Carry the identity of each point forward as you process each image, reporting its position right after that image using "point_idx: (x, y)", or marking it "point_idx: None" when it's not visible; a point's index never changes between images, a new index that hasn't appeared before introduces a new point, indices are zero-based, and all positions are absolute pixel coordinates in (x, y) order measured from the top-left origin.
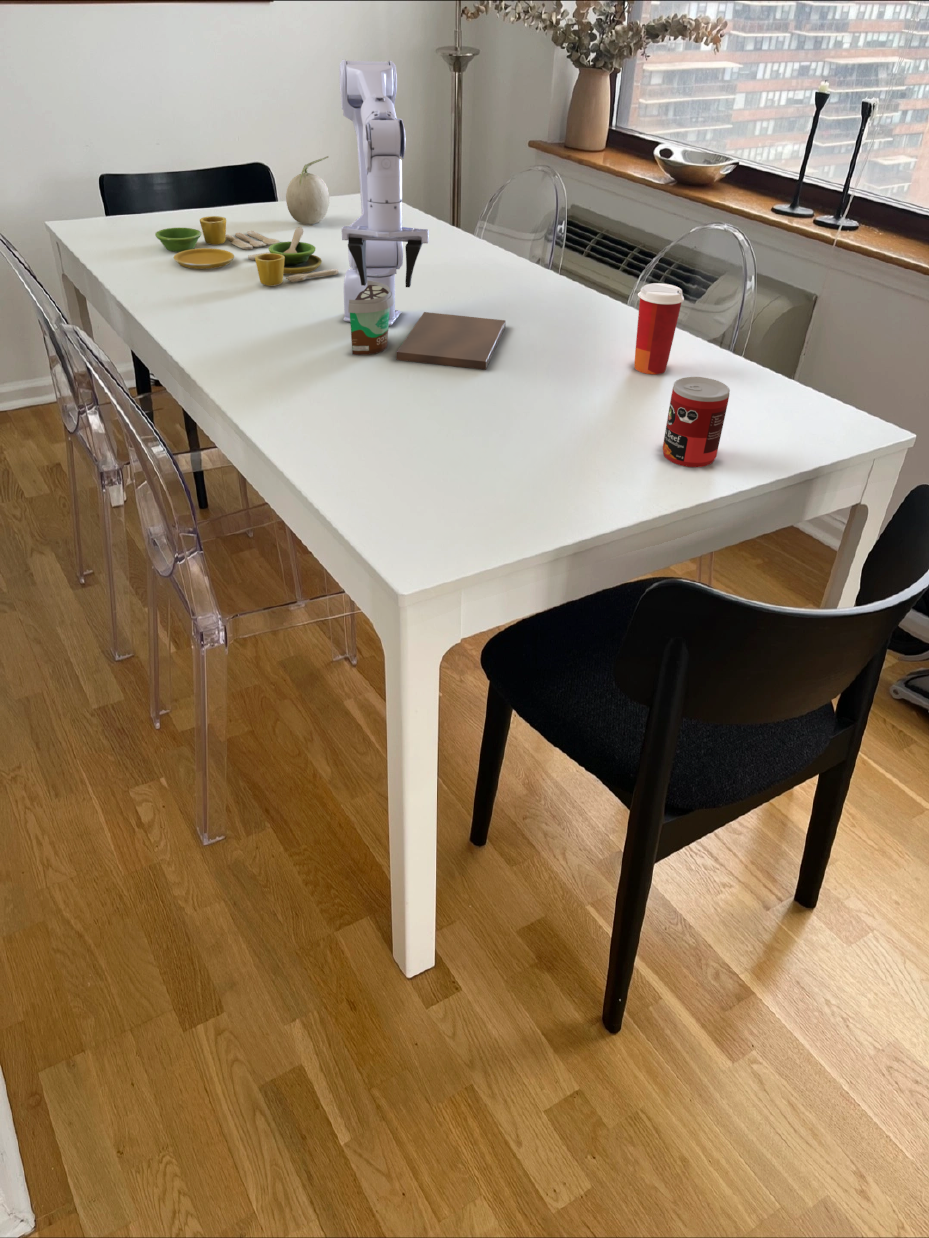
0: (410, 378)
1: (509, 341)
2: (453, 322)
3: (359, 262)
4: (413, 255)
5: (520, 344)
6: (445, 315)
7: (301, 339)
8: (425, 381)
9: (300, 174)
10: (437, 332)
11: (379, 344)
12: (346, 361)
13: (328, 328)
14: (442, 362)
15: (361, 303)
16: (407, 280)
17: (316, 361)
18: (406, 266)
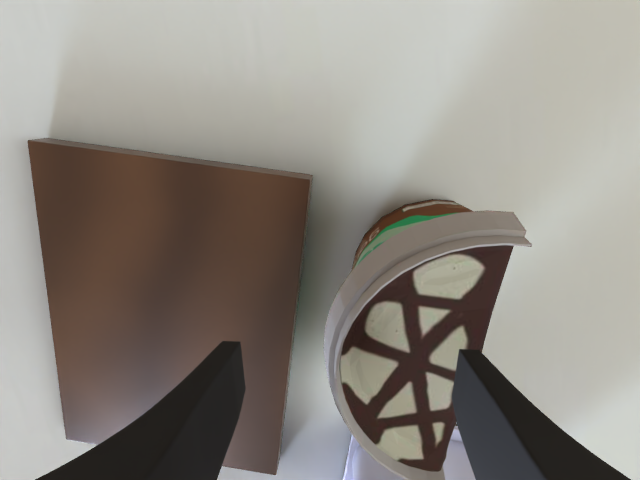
0: (247, 24)
1: (47, 348)
2: None
3: (548, 442)
4: (80, 474)
5: (16, 332)
6: None
7: (616, 300)
8: (196, 6)
9: None
10: (215, 346)
11: (370, 234)
12: (468, 141)
13: (531, 385)
14: (169, 157)
15: (460, 240)
16: (217, 359)
17: (570, 125)
18: (188, 414)
